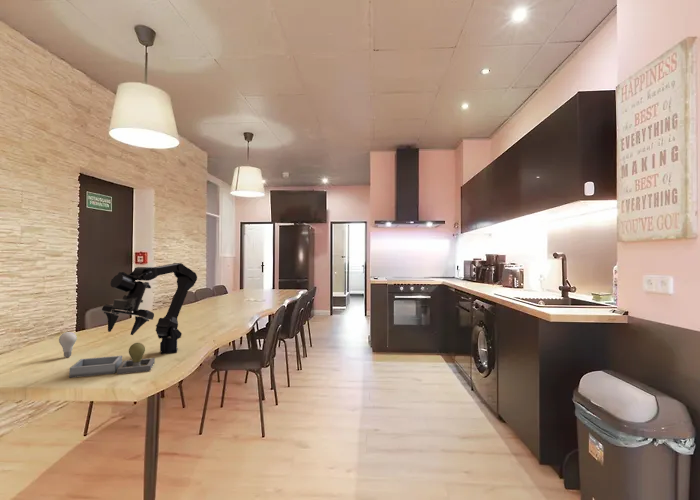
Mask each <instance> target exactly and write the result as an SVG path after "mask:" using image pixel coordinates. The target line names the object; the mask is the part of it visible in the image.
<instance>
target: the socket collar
mask: <svg viewBox="0 0 700 500" xmlns="http://www.w3.org/2000/svg"><path fill="white" fill-rule="evenodd" d="M155 359H156V358H155V357H151V358H150V357H149V358H142V359H141V361H140V366H133V361H132V359H130V360H129V359H128V360H127V359H126V360H122V363H121V365H120V366H119V367H118V368H117V371H116V375H123V374H132V373H134V374H135V373H142V372H143V371H145V372H150V371H149V370H151V371H152V369H151V368H153V367H152V366H154V365H155V363H156V362H155ZM145 364H146V365H145ZM153 364H154V365H153ZM143 373H144V372H143Z"/></svg>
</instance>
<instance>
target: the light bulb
mask: <svg viewBox="0 0 700 500" xmlns="http://www.w3.org/2000/svg"><path fill="white" fill-rule="evenodd" d="M145 352H146V346H145V345H144V344H143V343H141V342H135V343H133V344H131V345H130V347H128V355H129V356H130V359H131V360H132V361H133V366H141V365H140V361H141V359H143V357H144V354H145ZM133 366H132V367H133Z"/></svg>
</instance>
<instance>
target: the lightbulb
mask: <svg viewBox="0 0 700 500" xmlns="http://www.w3.org/2000/svg"><path fill="white" fill-rule="evenodd" d="M77 340H78V337H77V335H76V333H74V332H73V331H66V332H64V333H62V334H60V336H59V338H58V343H59V345H60V346H61V347H62V352H63V357H64V358H70V357H71V356H72V351H73V347H74V345H75V343H76V342H77Z"/></svg>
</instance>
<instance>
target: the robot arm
mask: <svg viewBox="0 0 700 500" xmlns="http://www.w3.org/2000/svg"><path fill="white" fill-rule="evenodd" d="M117 273H118V274H115V276H114V277H112V279H111V280H110V286H111V288H113V289H116V290H118V291H121V292H124V293H127V294H126V295H123V296H122V298H116V299H113V301H112V302H113V303H112V304H104V305H102V307H101V310H100V311H101V312H103V314H105V315H106V317H107V332H109V333H111V332H112V330H113V328H114V326H115V324H116V322H117V321H118V319H119V315H118V314H125V315H130V316H131V315H132V316H134V317H135V318H134V323H133V326H132V329H131V331H130V335H131V336H134V335H135V333H136V332H138V330H139V329H140V328H141V327H143V325H145V323H147V322H150V320H154V317H155V314H154V311H150V310H148V309H142V308H140V305H141V304H142V303H144V300H143V297H144V294H145V291H146V290H147V289H151V288H152V286H151V285H150V282H148V281H151V280H153V279H156V278H157V277H158V276H159V277H160V276H162V275H167V274H172V273H173V275H174V276H175V278H176V279H177V280H176V286H177V288H176V290H175V293H174V296H173V298H172V300H171V302H170V305H169V307H168V310H167V312H166V315H165V316H164V317H159V318H158V321H157V323H156V325H155V332H156V334H157V337H158V339H159V340H160V339H161V341H160V346H159V348H160V349H159V352H160V354H161V355H163V354H172V353H173V354H174V353H177V352H178V350H179V348H178V340H179V339H181V338H182V335H183V333H182V332H181V331H180V330H179V329H178V327H179V321H178V317H179V315H180V312H181V310H182V307H183V305H184V302H185V299H186V297H187V295H188V291H189V290H191V288H193V287H194V286H195V284H196V282H197V280H198V275H197V274H196V272H195V271H193V270H192V269H190V268H189V267H187V266H186V265H185V264H183V263H182V262H173V263H168V264H164V265H158V266H136V267H135V268H134V269H133V271H131V272H130V273H126V272H124V271H119V272H117ZM144 281H145V282H144ZM139 308H140V309H139Z"/></svg>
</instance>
